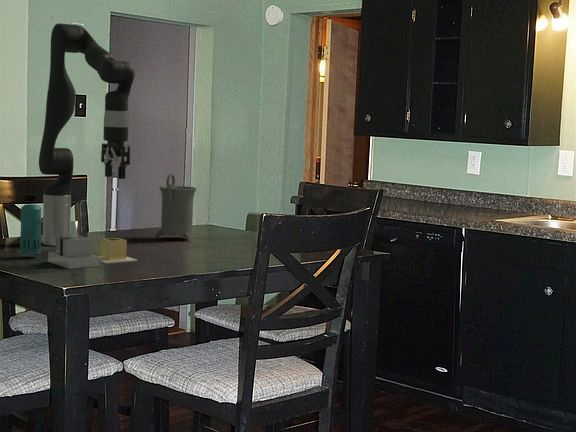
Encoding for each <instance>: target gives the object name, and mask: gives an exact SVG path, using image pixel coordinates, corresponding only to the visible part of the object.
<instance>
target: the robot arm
mask: <svg viewBox="0 0 576 432" xmlns="http://www.w3.org/2000/svg"><path fill="white" fill-rule="evenodd" d="M50 34H51V36H50V57H49V59H50V61H49V62H50V63H49V65H50V67H49V78H48V88H47V95H46V102H45V103H46V104H45V116H44V118H45V119H44V126H43V133H42V138H41V142H40V143H41V144H40V149H39V155H38V167H39V171H40V173H41V174H42V175H44V176H45V175H46V176H55V175H56V176H57V178H56V179H55V180H54V181H52V182H50V183H48V184H46V185H44V187H43V189H42V190H43V195H42V197H43V199H42V200H43V202H42V204H43V206H42V210H43V211H42V244H43V245H45V246H55V247H56V237H63V236H71V221H72V220H71V219H72V218H71V215H72V189H73V188H72V187H73V177H74V165H75V163H74V161H75V160H74V153H73V151H72V150H71V149H70V148H67V147H55V146H56V142H57V139H58V137H59V134H60V133H61V132H62V130H63V129H64V128H65V126H66V125H67V124H68V122H69V121H70V119H71V118H72V116H73V114H74V111H75V105H76V104H75V103H76V95H77V94H76V89H75V87H74V84H73V82H72V80H71V78H70V76H69V74H68V71H67V69H66V60H65V59H66V53H70V54H72V53H73V54H77V53H80V54H82V55H84V59H85V61H86V63H87V64H88V66H90V68H92V69H93V70H94V71H96V72H97V74H98V76H99V79H100V80H101V81H102V82H105V83H107V84H116V85H117V88H116V89H115V90H112V91H111V90H110V91H107V92H106V93H105V97H104V114H103V115H104V116H103V140H104V141H105V142H106V143H103V142H102V143H101V152H100V153H101V155H100V162H101V163H103V165H104V177H106V178H111V177H113V163H114V161H116V163H117V179H118V180H124V179H126V168H127V167H128V166H130V164H131V147H130V145H127V144H126V145H125V142H128V140H129V110H128V109H129V98H130V97H129V96H130V94H131V89H132V86H133V83H134V80H135V68H134V66H133V64H132V63H131V62H129V61H126V60H124V61H123V60H116V58H115V56H114V55H113V54H112V53H111V52H109V51H107V50H106V49H104V48H103V47H102V46H101V45H100V44H99V43H98V42H97V41H96V40H95V39H94V37H93V36H92V35H91V34H90V33H89V32H88V30H87V29H85V28H84V27H83V26H81V25H79V24H70V23H56V24H55V25H54V26H53V27H52V30H51V33H50Z"/></svg>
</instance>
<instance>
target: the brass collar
mask: <svg viewBox="0 0 576 432" xmlns="http://www.w3.org/2000/svg"><path fill="white" fill-rule="evenodd" d="M99 240H100V242H99V249H100V250H99V256H100V258H103V259H106V260H121V259H126V257H127V247H128V246H127V243H128V240H127V239H124V238H119V237H110V238H109V237H108V238H100V239H99Z"/></svg>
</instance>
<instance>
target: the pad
mask: <svg viewBox="0 0 576 432" xmlns="http://www.w3.org/2000/svg"><path fill="white" fill-rule="evenodd" d="M98 256H99V263H102V264H118V263H119V264H120V263H133V262H134V263H135V262H138V259H136V258H134V257H129V256H126V259H121V260H106V259H103V258H100V255H98Z"/></svg>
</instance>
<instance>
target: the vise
mask: <svg viewBox="0 0 576 432" xmlns="http://www.w3.org/2000/svg"><path fill="white" fill-rule="evenodd" d="M99 256H100V255H96V254H93V239H92V238H90V237H85V236H82V235H78V221H77V220H71V226H70V236H63V237H56V246H55V251H48V253H47V262H48V263H51V264H54V265H57V266H60V267H63V268H65V269H80V268H81V269H82V268H93V267H94V268H95V267H100V262H99Z"/></svg>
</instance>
